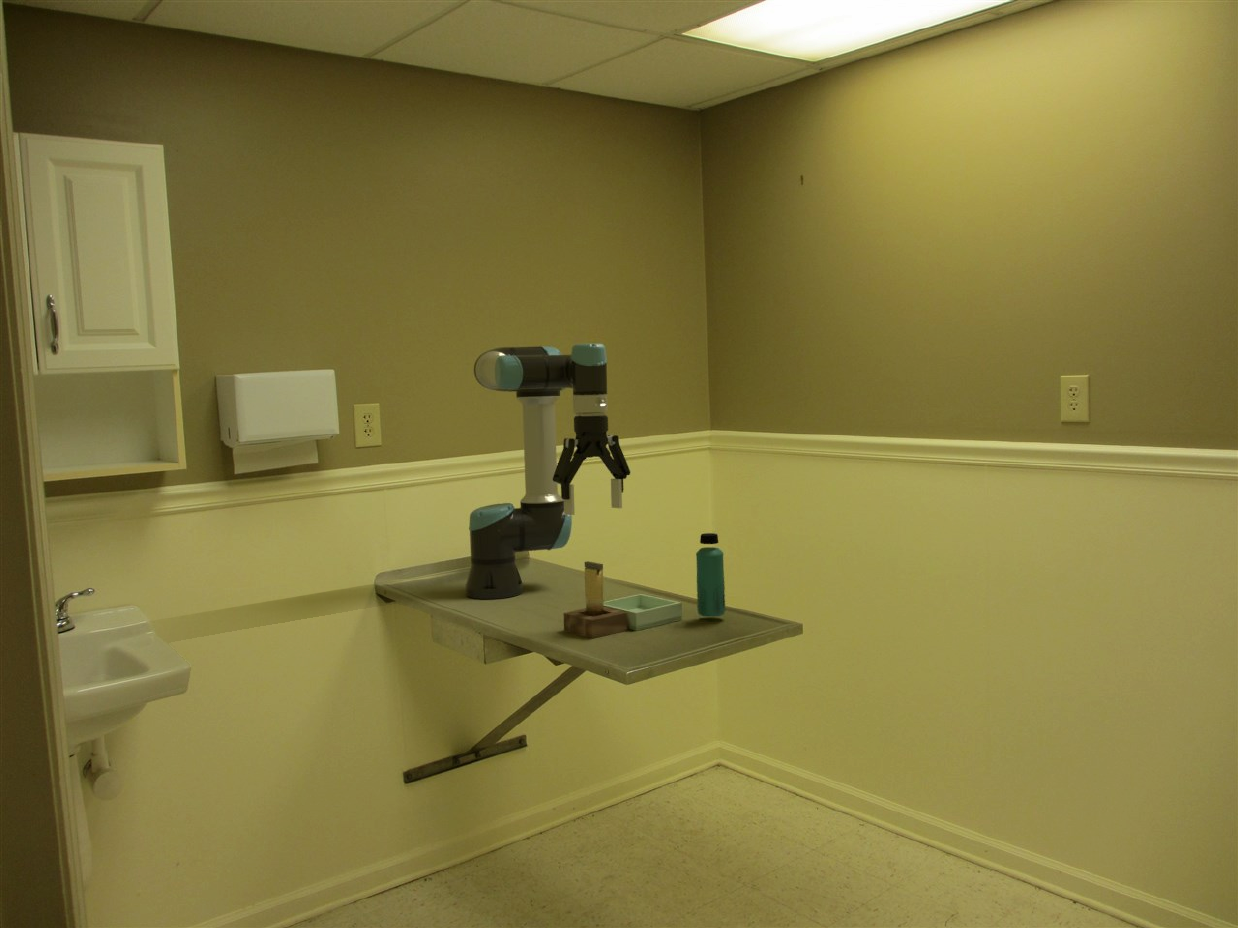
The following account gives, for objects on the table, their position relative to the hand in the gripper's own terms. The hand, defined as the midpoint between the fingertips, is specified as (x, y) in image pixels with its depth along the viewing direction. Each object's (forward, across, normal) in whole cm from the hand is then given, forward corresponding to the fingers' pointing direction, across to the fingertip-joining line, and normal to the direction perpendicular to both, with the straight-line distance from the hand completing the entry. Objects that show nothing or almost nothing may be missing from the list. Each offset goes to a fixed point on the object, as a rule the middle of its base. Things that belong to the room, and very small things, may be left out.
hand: (593, 511), depth 220 cm
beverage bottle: (+27, +24, -12) cm, 38 cm away
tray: (+27, +13, 0) cm, 30 cm away
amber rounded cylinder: (+27, 0, 0) cm, 27 cm away
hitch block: (+27, 0, 0) cm, 27 cm away
